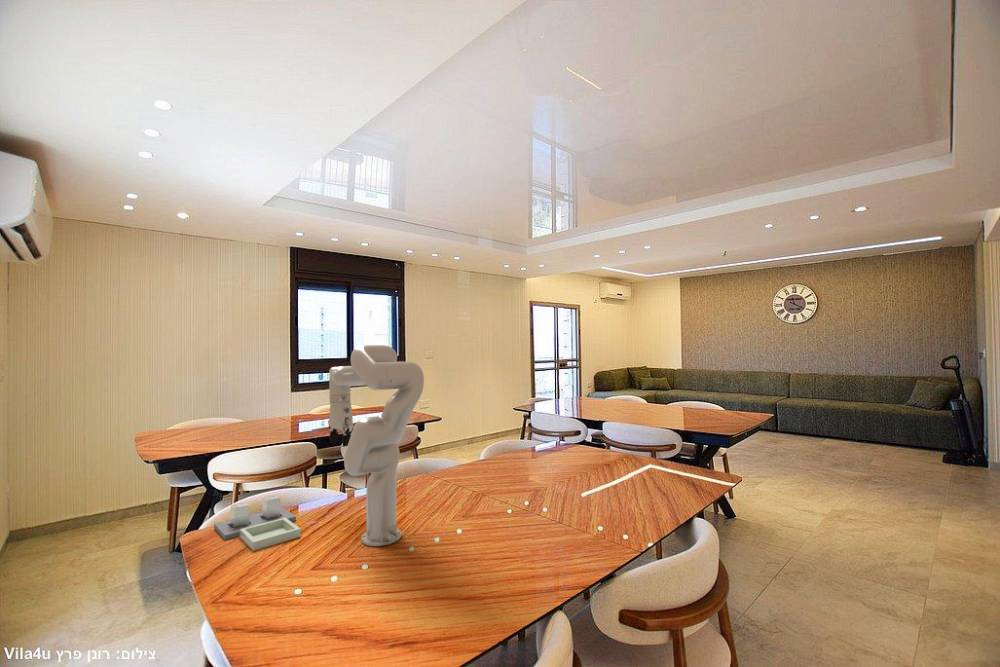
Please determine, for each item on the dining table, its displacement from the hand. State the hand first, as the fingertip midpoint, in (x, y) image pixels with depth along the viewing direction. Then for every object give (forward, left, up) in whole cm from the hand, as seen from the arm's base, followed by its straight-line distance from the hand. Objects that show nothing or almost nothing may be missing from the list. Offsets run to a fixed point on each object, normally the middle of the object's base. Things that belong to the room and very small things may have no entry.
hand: (340, 444), depth 166 cm
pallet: (+9, +26, -26) cm, 38 cm away
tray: (-6, +26, -26) cm, 37 cm away
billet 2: (+9, +21, -26) cm, 35 cm away
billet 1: (+9, +31, -26) cm, 42 cm away
